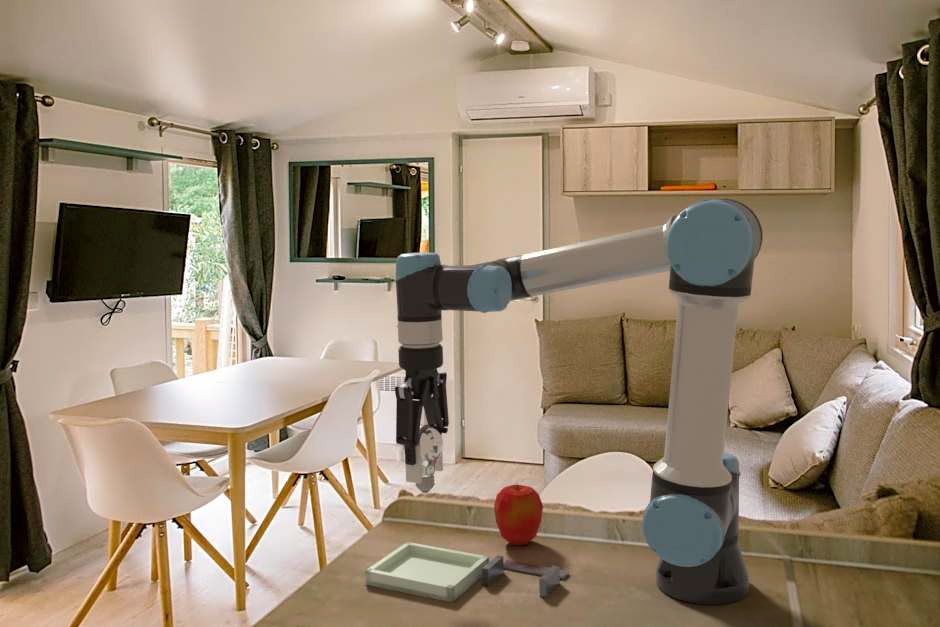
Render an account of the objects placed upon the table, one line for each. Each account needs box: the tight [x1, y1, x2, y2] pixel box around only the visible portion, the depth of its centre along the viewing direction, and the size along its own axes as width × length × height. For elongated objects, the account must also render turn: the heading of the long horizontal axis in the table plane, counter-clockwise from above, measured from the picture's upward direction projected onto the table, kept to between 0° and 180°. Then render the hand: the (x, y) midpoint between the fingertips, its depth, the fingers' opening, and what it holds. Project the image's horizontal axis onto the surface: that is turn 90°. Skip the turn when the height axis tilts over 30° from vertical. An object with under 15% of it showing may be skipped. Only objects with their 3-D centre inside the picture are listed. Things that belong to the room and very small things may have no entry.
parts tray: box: [364, 541, 490, 604], centre depth 155 cm, size 17×14×2 cm
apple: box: [493, 482, 544, 546], centre depth 169 cm, size 9×9×12 cm
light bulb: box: [402, 423, 444, 494], centre depth 152 cm, size 7×7×12 cm
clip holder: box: [481, 555, 570, 598], centre depth 153 cm, size 12×10×3 cm
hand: (424, 475), depth 153 cm, fingers closed on light bulb, 6 cm apart
